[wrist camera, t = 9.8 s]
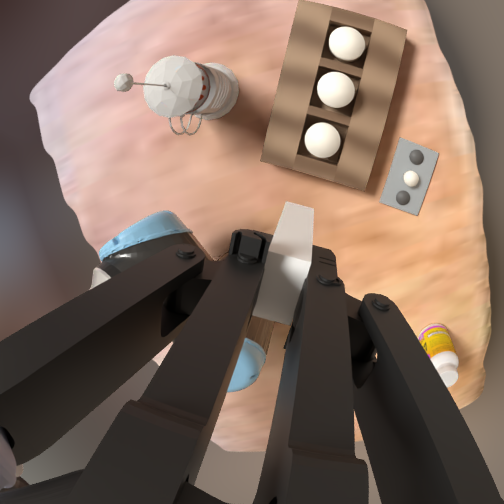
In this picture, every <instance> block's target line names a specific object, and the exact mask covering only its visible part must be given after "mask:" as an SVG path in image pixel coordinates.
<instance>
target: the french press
mask: <svg viewBox="0 0 504 504" xmlns="http://www.w3.org/2000/svg"><path fill="white" fill-rule="evenodd" d="M133 84H137V85H144V86H143V89H144V98H145V100H146V102H147V104H148V106H149V108H150V109H151V110H152V111H154V112H155V113H156V114H158V115H159V116H164V117H169V124H170V127H171V129H172V131H173V132H174V133H175V134H177V135H182V134H184V132H185V133H186V134H188V135H193V134H195V133H196V132H197V130H198V129H199V127H200V124H201V120H202V119H205V120H211V119H217V118H220V117H222V116H224V115H225V114H227V113H229V111H230V110H231V109H232V108H233V106H234V105H235V104H236V101H237V98H238V94H239V87H238V80H237V79H236V77H235V75H234V74H233V72H232V71H231V70H230V69H228V68H227V67H225V66H224V65H222V64H217V63H212V62H211V63H206V64H200V63H195V62H192V61H190V60H189V59H187V58H186V57H181V56H174V55H173V56H169V57H166V58H162V59H161V60H160V61H158V62H157V63H156V64H154V65H153V66H152V68H151V69H150V71H149V72H148V74H147V75H146V78H145V82H144V83H134V82H133V78H132V76H131V75H130V74H120V75H118V76H117V77H116V79H115V81H114V87H115V88H116V90H117V91H122V92H126V91H129V90H130V89H131V87H132V85H133ZM184 114H191V116H190V119H189V123H188V126H187V128H186V129H185V128H184V126H183V121H182V117H184V116H185V115H184ZM192 115H194V116H196V117H197V118H200V121H199V124H198V127H197V129H196V131H195V132H193V133H190V134H189V133H188V132H186V130H187V129H188V127H189V125H190V122H191V118H192ZM176 116H181V117H180V121H181V126H182V129H183V130H184V131H183V132H182V133H177V132H176V131H175V130H174V129H173V127H172V125H171V117H176Z"/></svg>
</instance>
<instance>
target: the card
mask: <svg viewBox="0 0 504 504" xmlns="http://www.w3.org/2000/svg"><path fill="white" fill-rule="evenodd" d="M438 155H439V153H437V152H435V151H433V150H430V149H428V148H425V147H423V146H421V145H418V144H416V143H413V142H411V141H408V140H405V139H403V138H399V141H398V145H397V148H396V151H395V155H394V158H393V161H392V164H391V168H390V171H389V174H388V177H387V180H386V183H385V186H384V189H383V192H382V195H381V198H380V201H379V202H380V203H383V204H386V205H389V206H391V207H394V208H397V209H400V210H403V211H406V212H408V213H411V214H414V215H416V216H417V215H418V213H419V210H420V207H421V205H422V202H423V199H424V196H425V194H426V191H427V188H428V185H429V182H430V179H431V176H432V173H433V170H434V167H435V164H436V161H437V158H438Z"/></svg>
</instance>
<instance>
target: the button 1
mask: <svg viewBox="0 0 504 504" xmlns="http://www.w3.org/2000/svg"><path fill="white" fill-rule="evenodd" d="M305 145H306V147H307V149H308V151H309V152H310V153H311V154H313V155H314V156H316V157H320V158H327V157H330V156H332V155H334V154H335V153H336V152H337V150H338V149H339V146H340V136H339V133H338V131H337V130H336V129H335V128H334V127H333V126H332V125H330V124H328V123H324V122H320V123H316V124H314V125H312V126H311V127H310V128H309V129H308V131H307V132H306V135H305Z"/></svg>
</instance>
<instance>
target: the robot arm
mask: <svg viewBox="0 0 504 504" xmlns="http://www.w3.org/2000/svg"><path fill="white" fill-rule="evenodd" d="M313 220H314V209H313V208H310V207H306V206H302V205H298V204H295V203H291V202H287V201H286V203H285V206H284V209H283V211H282V214H281V217H280V220H279V222H278V225H277V228H276V230H275V233H274V235H270V234H266V233H263V232H259V231H255V230H248V229H240V230H235V231H234V232H233V233H232V238H231V243H230V248H229V252H227V253H226V254H225V255H223V256H222V257H221V258H220V259H219V260H218V261H214V260H213V259H212V258H211V257H210V255H209V254H208V253H207V252H206V250H205V249H204V248H203V246H202V245H201V244H200V243H199V241H198V240H197V239H196V238H195V236H194V235H193V234H192V233H193V232H192V230H190V229H188V228H187V227H186V226H185V225H184V224H183V222H182V221H181V220H180V219H179V218H178V217H177V215H176V214H174V213H173V212H171V211H160V212H156V213H154V214H152V215H150V216H148V217H146V218H144V219H142V220H140V221H138V222H137V223H135V224H133V225H132V226H130V227H128V228H127V229H125V230H124V231H122V232H121V233H120V234H119V235H118V236H116V237H114V238H113V239H112V240H110V241H109V242H107V243H106V244H105V245H104V246H103V247H102V248H101V249H100V251H99V256H100V260H101V261H102V263H101V264H100V265H98V266H97V267H96V268H95V269H94V271H93V281H92V286H91V289H89V290H88V291H86V292H85V293H83V294H81V295H79V296H78V297H76V298H74V299H72V300H70V301H69V302H67V303H65V304H63V305H62V306H60V307H58V308H57V309H55V310H53V311H51V312H50V313H48V314H46V315H44V316H43V317H41V318H39V319H38V320H36V321H34V322H32V323H31V324H29V325H27V326H25V327H24V328H22V329H20V330H19V331H17V332H15V333H14V334H12V335H11V336H9V337H7V338H6V339H4V340H2V341H1V342H0V504H229V503H225V502H223V501H221V500H219V499H217V498H215V497H213V496H211V495H209V494H208V493H206V492H204V491H202V490H200V489H199V488H197V487H195V486H194V484H195V481H196V478H197V475H198V472H199V469H200V467H201V464H202V461H203V458H204V455H205V452H206V450H207V447H208V444H209V441H210V439H211V436H212V433H213V430H214V427H215V424H216V422H217V419H218V416H219V413H220V410H221V407H222V405H223V402H224V399H225V396H226V393H227V392H235V391H239V390H242V389H245V388H247V387H248V386H250V385H251V384H253V383H254V382H255V381H256V379H257V378H258V376H259V374H260V371H261V368H262V366H263V365H264V363H265V360H266V355H267V351H268V347H269V343H270V338H271V334H272V330H273V326H274V322H278V323H282V324H286V325H290V326H291V328H290V331H289V334H288V337H287V339H286V342H285V345H284V349H286V352H285V358H284V363H283V369H282V374H281V380H280V385H279V390H278V396H277V401H276V406H275V411H274V416H273V421H272V426H271V431H270V435H269V440H268V445H267V450H266V454H265V459H264V464H263V468H262V473H261V477H260V481H259V485H258V489H257V493H256V496H255V499H254V501H253V504H368V497H369V496H368V494H369V489H368V488H369V485H368V484H369V483H368V468H367V464H366V462H365V461H364V460H362V459H357V458H356V456H355V451H354V450H355V447H354V445H355V444H354V411H355V414H356V417H357V421H358V424H359V427H360V430H361V434H362V437H363V440H364V443H365V446H366V450H367V454H368V457H369V460H370V464H371V467H372V471H373V474H374V478H375V481H376V485H377V488H378V492H379V496H380V499H381V503H382V504H504V501H503V499H502V498H501V497H500V494H499V492H498V490H497V487H496V485H495V483H494V480H493V478H492V476H491V474H490V472H489V469H488V467H487V465H486V463H485V461H484V458H483V456H482V454H481V452H480V450H479V448H478V446H477V444H476V442H475V440H474V438H473V436H472V434H471V432H470V430H469V428H468V426H467V424H466V422H465V420H464V418H463V417H462V415H461V413H460V411H459V409H458V407H457V405H456V403H455V402H454V400H453V398H452V396H451V394H450V392H449V391H448V389H447V387H446V385H445V384H444V382H443V380H442V378H441V377H440V375H439V373H438V371H437V370H436V368H435V366H434V365H433V363H432V361H431V360H430V358H429V356H428V355H427V353H426V351H425V350H424V348H423V346H422V345H421V343H420V342H419V340H418V338H417V337H416V335H415V334H414V332H413V330H412V329H411V327H410V326H409V324H408V323H407V321H406V319H405V318H404V316H403V315H402V313H401V312H400V310H399V309H398V307H397V306H396V305H395V303H394V302H393V301H391V300H390V299H388V297H386V296H384V295H381V294H375V293H369V294H366V295H365V296H364V298H363V300H362V301H360V300H358V299H356V298H353V297H352V296H350V295H348V294H347V293H345V287H344V283H343V281H342V280H341V279H340V278H339V277H337V267H336V257H335V255H334V253H333V252H332V251H331V250H329V249H326V248H322V247H318V246H315V245H312V242H313ZM292 320H293V322H292ZM291 323H292V325H291ZM171 342H173V345H172V347H171V348H170V350H169V352H168V353H167V355H166V356H165V358H164V360H163V361H162V363H161V365H160V366H159V368H158V370H157V371H156V373H155V375H154V377H153V378H152V380H151V382H150V384H149V385H148V387H147V389H146V390H145V392H144V393H143V395H142V396H141V398H140V399H139V400H138V401H134V400H130V401H128V402H127V403H126V404H125V405H124V406H123V408H122V409H121V410H120V412H119V413H118V415H117V417H116V418H115V420H114V421H113V423H112V425H111V426H110V428H109V430H108V431H107V433H106V435H105V436H104V438H103V439H102V441H101V443H100V444H99V446H98V448H97V449H96V451H95V453H94V454H93V456H92V458H91V459H90V461H89V463H88V464H87V466H86V467H85V469H82V470H78V471H74V472H71V473H68V474H65V475H62V476H59V477H56V478H52V479H49V480H46V481H43V482H39V483H36V484H32V485H29V484H28V483H27V482H26V481H25V480H24V479H23V478H21V477H20V475H21V474H22V472H23V465H22V464H23V463H25V462H27V461H29V460H31V459H33V458H34V457H36V456H38V455H40V454H41V453H42V452H43V451H45V450H46V449H48V448H49V447H50V446H52V445H53V444H54V443H55V442H56V441H57V440H59V439H60V438H61V437H62V436H63V435H65V434H66V433H67V432H68V431H69V430H70V429H72V428H73V427H74V426H75V425H76V424H77V423H78V422H80V421H81V420H82V419H83V418H84V417H86V416H87V415H88V414H89V413H90V412H91V411H93V410H94V409H95V408H96V407H97V406H98V405H100V404H101V403H102V402H103V401H104V400H105V399H106V398H108V397H109V396H110V395H111V394H112V393H113V392H115V391H116V390H117V389H118V388H119V387H120V386H121V385H123V384H124V383H125V382H126V381H127V380H128V379H130V378H131V377H132V376H133V375H134V374H135V373H136V372H137V371H139V370H140V369H141V368H142V367H143V366H144V365H145V364H146V363H147V362H149V361H150V360H151V359H152V358H154V357H155V356H156V355H157V354H158V353H159V352H160V351H161V350H163V349H164V348H165V347H166V346H167V345H168V344H169V343H171ZM376 353H377V359H376V357H375V355H376Z"/></svg>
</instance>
